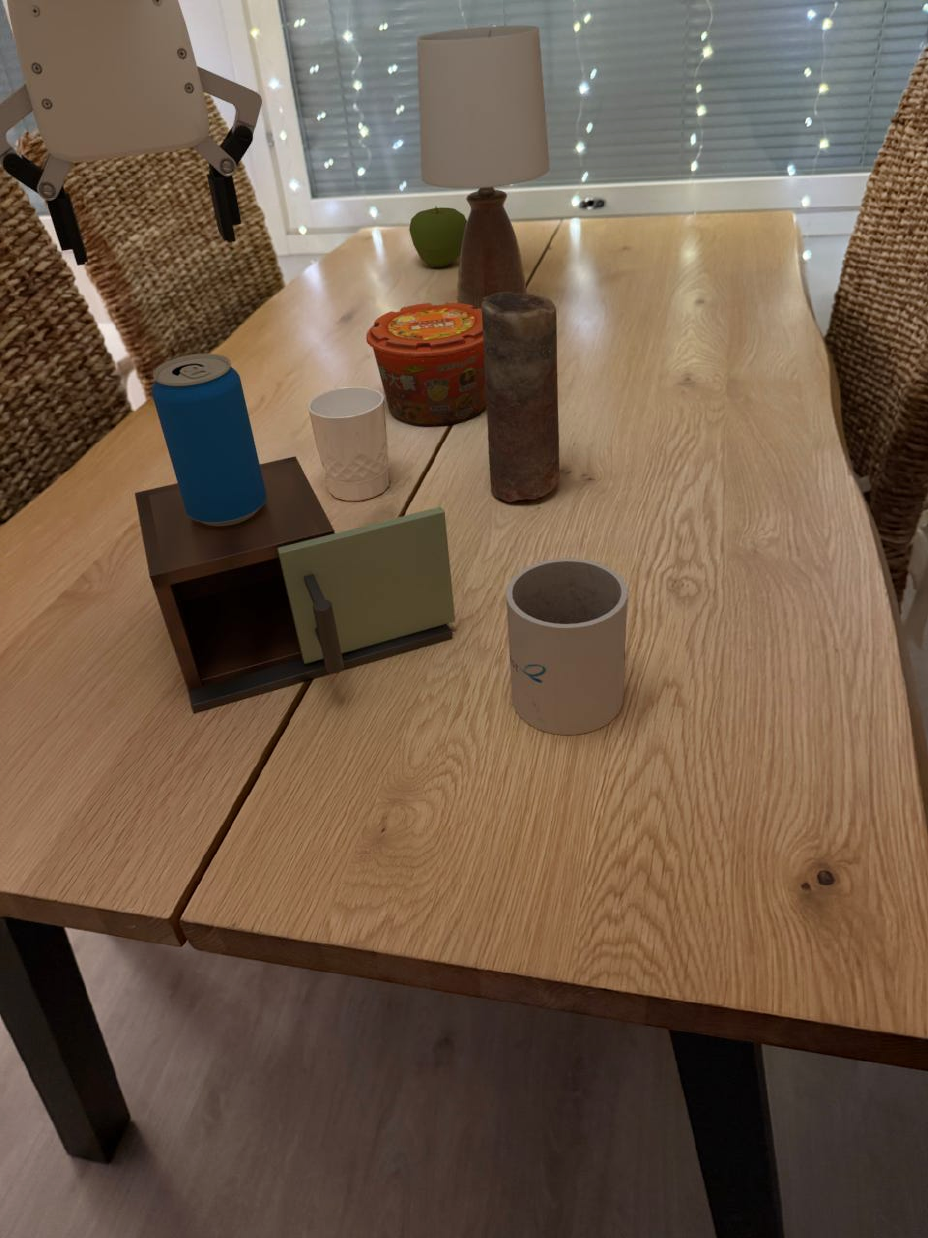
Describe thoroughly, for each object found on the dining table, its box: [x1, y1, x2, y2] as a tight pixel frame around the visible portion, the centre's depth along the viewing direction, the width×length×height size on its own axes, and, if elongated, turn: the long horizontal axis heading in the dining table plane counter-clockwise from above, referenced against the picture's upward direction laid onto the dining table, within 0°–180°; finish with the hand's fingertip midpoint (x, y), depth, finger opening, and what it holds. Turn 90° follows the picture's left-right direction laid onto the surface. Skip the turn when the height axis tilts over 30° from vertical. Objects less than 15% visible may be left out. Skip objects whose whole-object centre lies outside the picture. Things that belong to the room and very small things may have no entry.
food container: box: [365, 301, 487, 427], centre depth 114 cm, size 16×16×11 cm
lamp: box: [416, 24, 550, 309], centre depth 135 cm, size 19×19×37 cm
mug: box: [505, 557, 629, 736], centre depth 70 cm, size 12×9×10 cm
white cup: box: [307, 385, 390, 502], centre depth 98 cm, size 8×8×10 cm
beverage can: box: [151, 353, 267, 526], centre depth 71 cm, size 6×6×12 cm
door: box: [277, 506, 456, 674], centre depth 72 cm, size 13×6×11 cm, turn 111°
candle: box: [481, 292, 560, 503], centre depth 92 cm, size 8×7×20 cm
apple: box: [408, 206, 468, 268], centre depth 164 cm, size 11×10×10 cm
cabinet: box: [134, 455, 453, 714], centre depth 78 cm, size 22×16×12 cm
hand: (156, 248), depth 62 cm, fingers open, 9 cm apart
